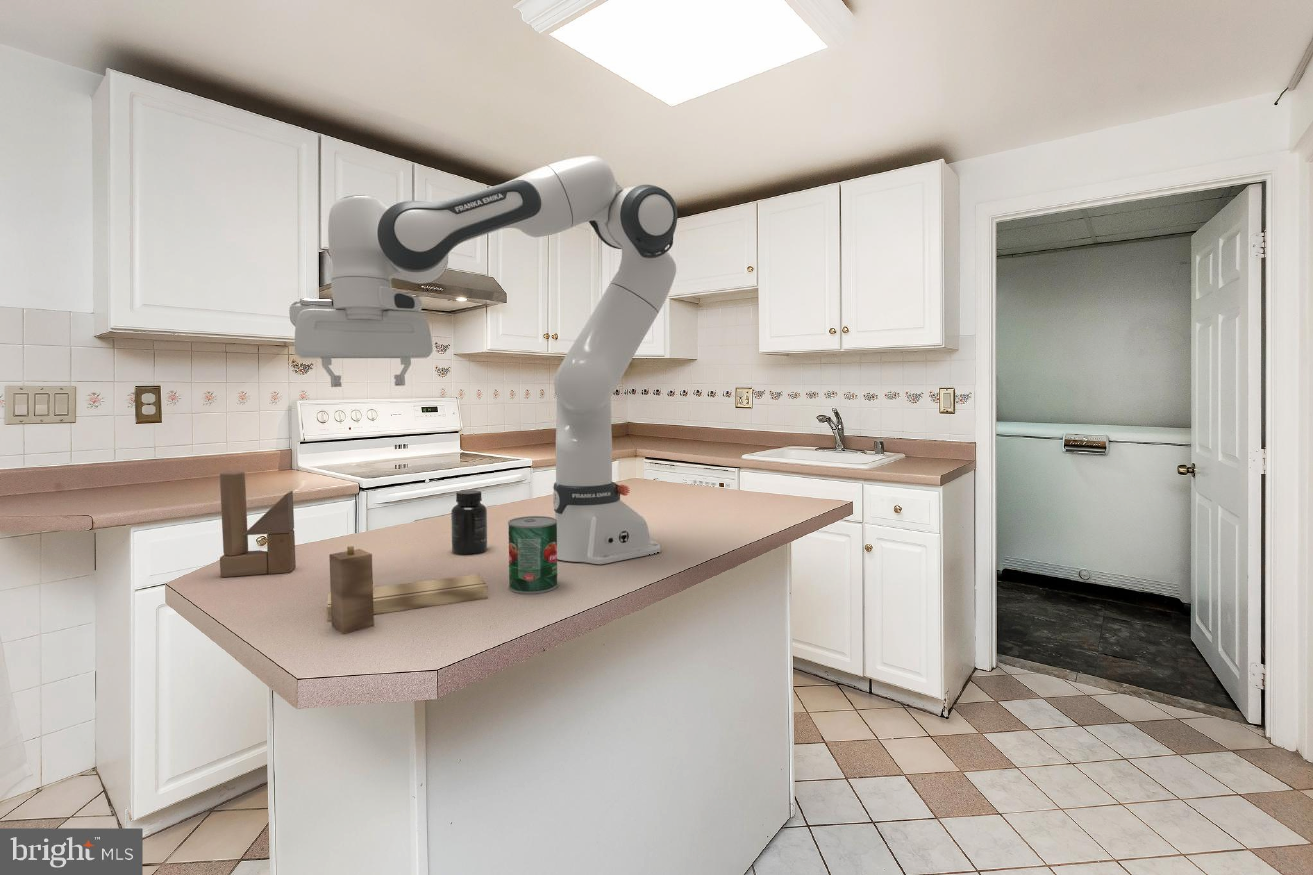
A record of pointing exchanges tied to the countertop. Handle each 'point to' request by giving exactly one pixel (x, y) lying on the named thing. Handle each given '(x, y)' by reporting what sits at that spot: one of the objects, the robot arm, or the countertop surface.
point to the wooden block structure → (254, 532)
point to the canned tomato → (532, 554)
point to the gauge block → (351, 590)
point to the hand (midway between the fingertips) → (368, 386)
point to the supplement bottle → (469, 524)
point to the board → (425, 594)
